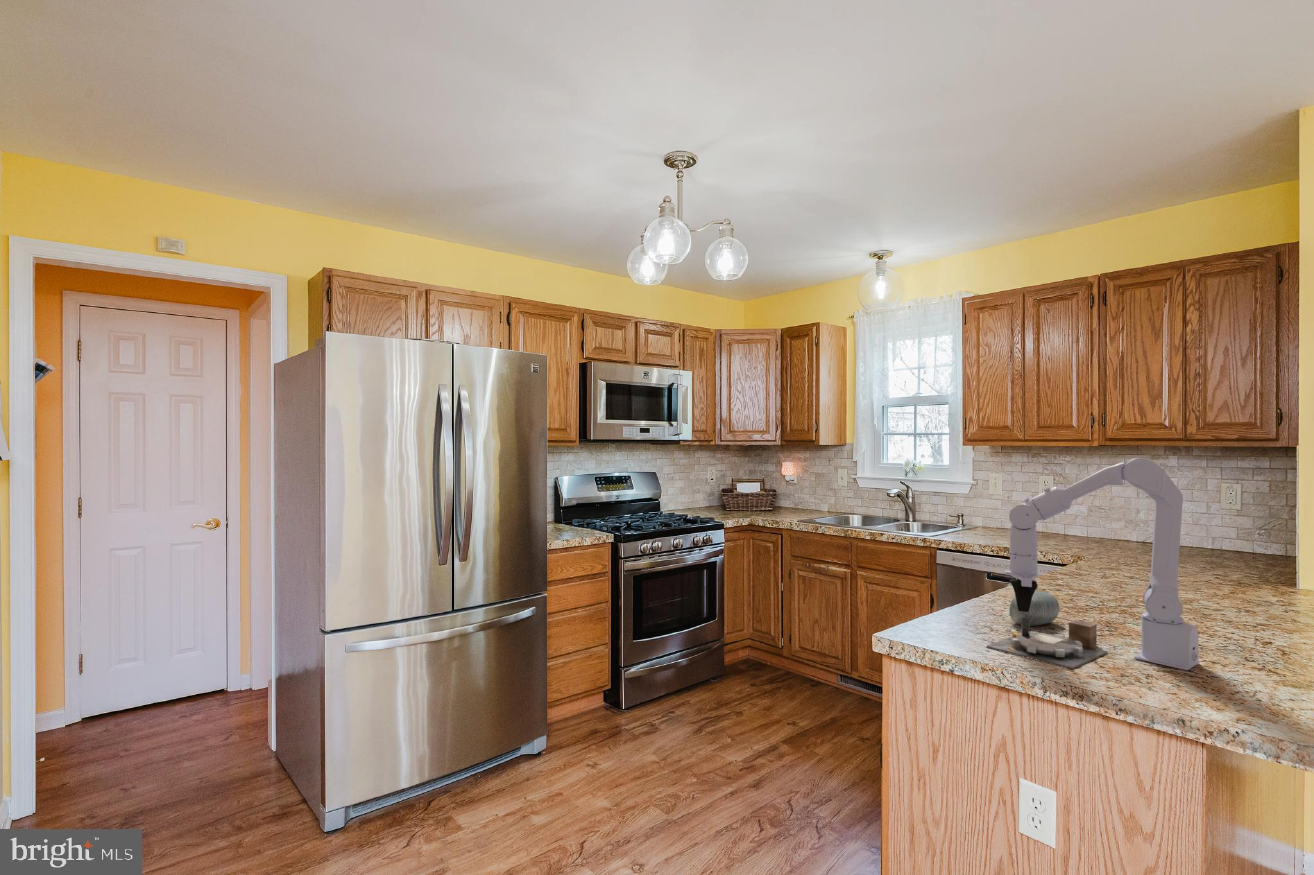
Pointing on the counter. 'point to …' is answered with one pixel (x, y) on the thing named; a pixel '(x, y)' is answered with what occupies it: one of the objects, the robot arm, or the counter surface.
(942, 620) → the counter surface
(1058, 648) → the sprocket
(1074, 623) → the link block
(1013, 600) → the grey oval stone
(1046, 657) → the plate
